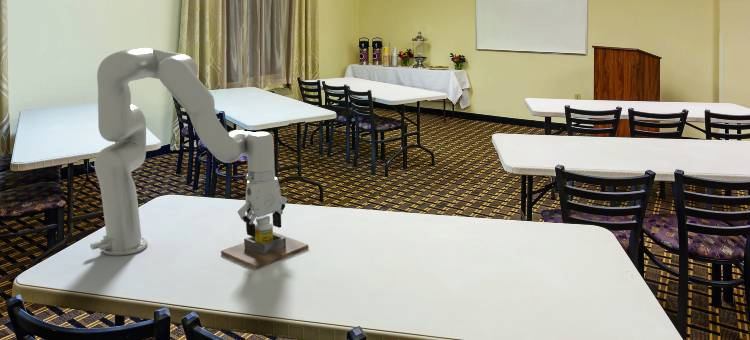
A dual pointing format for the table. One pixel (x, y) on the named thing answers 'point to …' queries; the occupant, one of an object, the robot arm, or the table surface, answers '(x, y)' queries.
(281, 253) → the board with square frame
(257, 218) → the supplement bottle
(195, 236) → the table surface
